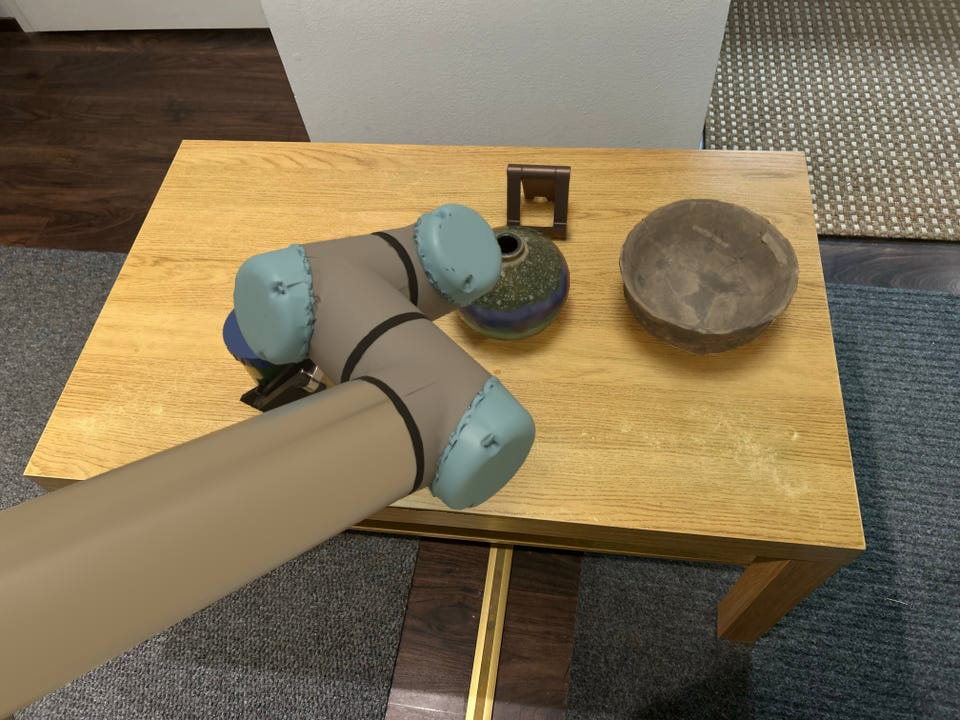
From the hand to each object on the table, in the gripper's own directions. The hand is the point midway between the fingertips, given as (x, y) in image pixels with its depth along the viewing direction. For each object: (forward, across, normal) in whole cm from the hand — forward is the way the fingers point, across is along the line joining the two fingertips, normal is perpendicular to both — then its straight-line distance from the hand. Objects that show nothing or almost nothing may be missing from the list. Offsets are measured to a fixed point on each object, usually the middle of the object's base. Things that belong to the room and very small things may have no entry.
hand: (266, 371), depth 79 cm
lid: (-10, 0, +5) cm, 11 cm away
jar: (+1, 0, -6) cm, 6 cm away
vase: (-10, +20, -24) cm, 33 cm away
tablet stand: (-11, +37, -24) cm, 45 cm away
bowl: (-27, +24, -40) cm, 54 cm away
